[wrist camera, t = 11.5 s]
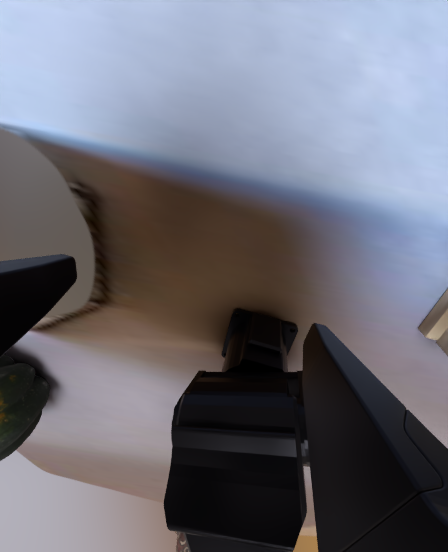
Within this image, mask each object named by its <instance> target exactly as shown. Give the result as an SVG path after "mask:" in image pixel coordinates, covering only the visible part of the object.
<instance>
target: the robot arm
mask: <svg viewBox="0 0 448 552" xmlns="http://www.w3.org/2000/svg"><path fill="white" fill-rule="evenodd" d="M76 279H77V271H76V262H75V259H74V258H73V257H71V256H68V255H64V254H60V255H51V256H42V257H34V258H25V259H16V260H8V261H0V357H1V356H2V355H3V354H4V353H6V352H7V351H8V350H9V349H10V348H11V347H12V346H13V345H14V344H15V343H16V342H17V341H18V340H20V339H21V338H22V337H23V336H24V335H25V334H26V333H27V332H28V331H29V330H30V329H31V328H32V327H33V326H35V325H36V324H37V323H38V322H39V321H40V320H41V319H42V318H43V317H44V316H45V315H46V314H47V313H48V312H49V311H50V310H51V309H52V308H53V307H54V306H55V305H56V303H57V302H58V301H59V300H60V299H61V298H62V297H63V296H64V294H65V293H66V292H67V291H68V290H69V289H70V287H71V286H72V285H73V284H74V283H75V281H76ZM236 313H239V314H240V315H236ZM292 328H294V330H291V329H292ZM297 332H298V327H297V326H296V325H295V324H292V323H289V322H285V321H281V320H279V319H276V318H272V317H269V316H265V315H261V314H258V313H252V312H249V311H245V310H241V309H235V310H234V311H233V313H232V317H231V321H230V325H229V328H228V332H227V336H226V339H225V343H224V347H223V351H222V356H223V357H224V358H225V361H224V365H223V369H222V372H206V371H198V373H197V374H196V376H195V377H194V379H193V380H192V381H191V383H190V384H189V386H188V387H187V389H186V390H185V392H184V393H183V394H182V396H181V397H180V399H179V401H178V402H177V404H176V406H175V408H174V415H173V420H172V430H171V434H172V445H173V448H172V458H171V466H170V472H169V478H168V483H167V488H166V493H165V498H164V510H165V516H166V523H167V527H168V529H169V530H170V531H176V532H182V533H183V534H184V537H185V541H186V544H187V547H188V550H189V552H293V550H294V548H295V545H296V541H297V539H298V536H299V533H300V530H301V528H302V525H303V522H304V520H305V517H306V513H307V505H306V490H305V479H304V468H303V466H308V467H310V470H311V481H312V491H313V501H314V511H315V521H316V532H317V542H318V552H448V449H447V448H446V447H445V446H444V445H443V444H442V443H441V442H440V441H439V440H438V439H437V438H436V437H435V436H434V435H433V434H432V433H431V432H430V431H429V430H428V429H427V428H426V427H425V426H424V425H423V424H422V423H421V422H420V421H419V420H418V419H417V418H416V417H415V416H414V415H413V414H412V413H411V412H410V411H409V410H406V407H405V406H404V405H403V404H402V403H401V402H400V401H399V400H398V399H397V398H396V397H395V396H394V395H393V394H392V393H391V392H390V391H389V390H388V389H387V388H386V387H385V386H384V385H383V384H382V383H381V382H380V381H379V380H378V379H377V377H376V376H375V375H374V374H373V373H372V372H371V371H370V370H369V369H368V368H367V367H366V366H365V365H364V364H363V363H362V362H361V361H360V360H359V359H358V358H357V357H356V356H355V355H354V354H353V353H352V352H351V351H350V350H349V349H348V348H347V347H346V346H345V345H344V344H343V343H342V342H341V341H340V340H339V339H338V338H337V337H336V336H335V335H334V334H333V333H332V332H331V331H330V330H329V329H328V328H327V327H326V326H325V325H321V324H317V323H314V324H312V326H311V328H310V330H309V332H308V334H307V336H306V338H305V340H304V344H303V371H297V372H288V369H287V355H288V352H289V350H290V348H291V346H292V343H293V341H294V339H295V337H296V334H297ZM225 353H226V354H225Z"/></svg>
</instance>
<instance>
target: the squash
mask: <svg viewBox="0 0 448 552" xmlns="http://www.w3.org/2000/svg"><path fill="white" fill-rule="evenodd" d="M49 391H50V388H49V385H48V383H47V381H46V380H45V379H43V378H41V377H39V376H35V369H34V368H33V367H32V366H29V365H28V364H25V363H17V364H15V363H14V361H13V360H12V358H10V357H8V356H6V355H4V354H3V355H2V356H1V357H0V461H1V460H2V459H4V458H6V457H7V456H9V455H10V454H12V453H13V452H14V451H15V450H16V449H17V448H18V447H19V446H20V445H22V443H23V442H24V441H25V440H26V439H27V438H28V437H29V436H30V434H31V433H32V432H33V430H34V429H35V427H36V425H37V424H38V422H39V420H40V417H41V415H42V409H43V407H44V406H45V404H46V402H47V400H48V397H49Z"/></svg>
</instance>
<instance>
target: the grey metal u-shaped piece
mask: <svg viewBox="0 0 448 552" xmlns="http://www.w3.org/2000/svg"><path fill="white" fill-rule="evenodd" d="M418 329H419V330H420V331H421V333H422V334H423V335H424V336H425V337H426V338H430V339H434V340H437V342H436V343H437V344H438V345H439V346H440V348H441V349H442V350H443V351H444V352H445V353H446V355H447V356H448V289H447V290H446V292H445V293H444V294H443V296H442V297H441V298H440V300H439V301H438V302H437V304H436V305H435V306H434V308H433V309H432V310H431V312H430V313H429V314H428V316H427V317H426V318H425V320H424V321H423V322H422V324H421V325H420V326H419V328H418Z"/></svg>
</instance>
